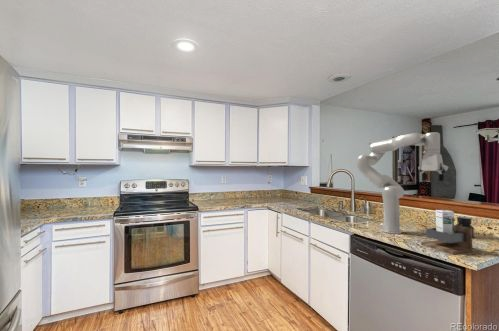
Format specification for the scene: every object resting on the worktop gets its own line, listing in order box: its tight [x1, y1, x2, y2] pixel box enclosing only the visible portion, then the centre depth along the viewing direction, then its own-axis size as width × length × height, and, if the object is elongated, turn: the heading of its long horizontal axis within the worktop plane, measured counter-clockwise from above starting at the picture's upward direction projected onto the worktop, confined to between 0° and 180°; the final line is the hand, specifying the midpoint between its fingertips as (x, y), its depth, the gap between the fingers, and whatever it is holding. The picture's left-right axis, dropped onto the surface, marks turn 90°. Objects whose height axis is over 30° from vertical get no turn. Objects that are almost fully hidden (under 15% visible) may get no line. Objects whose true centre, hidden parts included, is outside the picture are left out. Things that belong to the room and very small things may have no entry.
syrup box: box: [435, 209, 455, 234], centre depth 129 cm, size 6×6×14 cm
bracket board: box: [420, 224, 473, 255], centre depth 129 cm, size 16×15×12 cm
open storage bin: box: [425, 227, 466, 243], centre depth 129 cm, size 12×12×4 cm
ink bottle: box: [455, 216, 475, 239], centre depth 152 cm, size 10×9×12 cm
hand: (432, 180), depth 144 cm, fingers open, 9 cm apart
